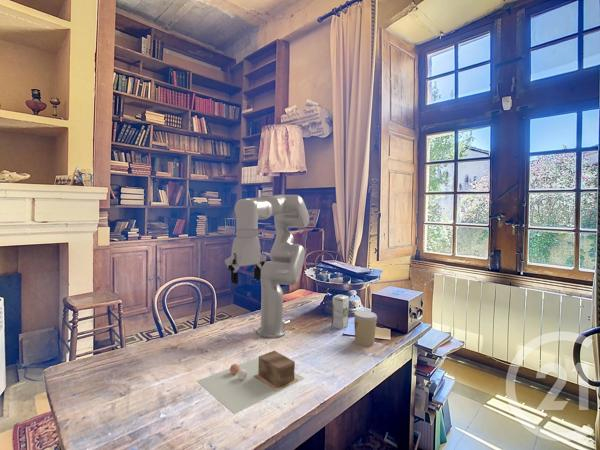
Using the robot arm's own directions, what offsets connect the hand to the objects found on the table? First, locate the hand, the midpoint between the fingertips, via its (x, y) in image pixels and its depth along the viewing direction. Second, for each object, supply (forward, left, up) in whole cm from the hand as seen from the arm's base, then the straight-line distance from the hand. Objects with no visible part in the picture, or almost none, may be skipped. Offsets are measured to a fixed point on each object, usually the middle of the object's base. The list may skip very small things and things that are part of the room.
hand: (246, 281), depth 114 cm
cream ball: (+10, +13, -27) cm, 32 cm away
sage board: (+8, +16, -28) cm, 33 cm away
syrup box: (-51, +3, -28) cm, 58 cm away
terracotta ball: (+10, +9, -27) cm, 30 cm away
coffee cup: (-45, +21, -28) cm, 57 cm away
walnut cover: (+2, +20, -27) cm, 33 cm away
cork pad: (+2, +20, -27) cm, 34 cm away
